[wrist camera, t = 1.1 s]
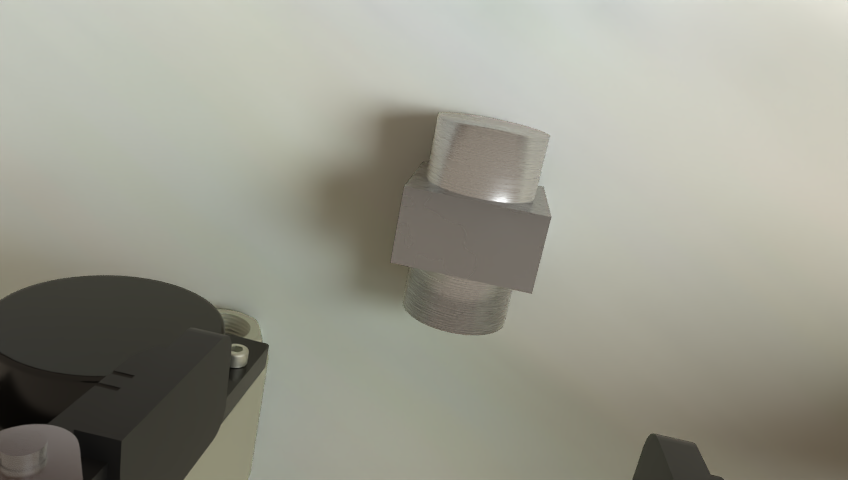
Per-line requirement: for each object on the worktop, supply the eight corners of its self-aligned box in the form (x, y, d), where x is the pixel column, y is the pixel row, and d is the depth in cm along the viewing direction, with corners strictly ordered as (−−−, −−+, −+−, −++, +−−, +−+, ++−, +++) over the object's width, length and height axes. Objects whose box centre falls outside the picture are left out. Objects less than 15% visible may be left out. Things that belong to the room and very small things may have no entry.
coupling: (557, 130, 27) (568, 148, 22) (515, 300, 30) (516, 353, 25) (433, 105, 28) (416, 117, 23) (402, 275, 30) (379, 322, 25)
